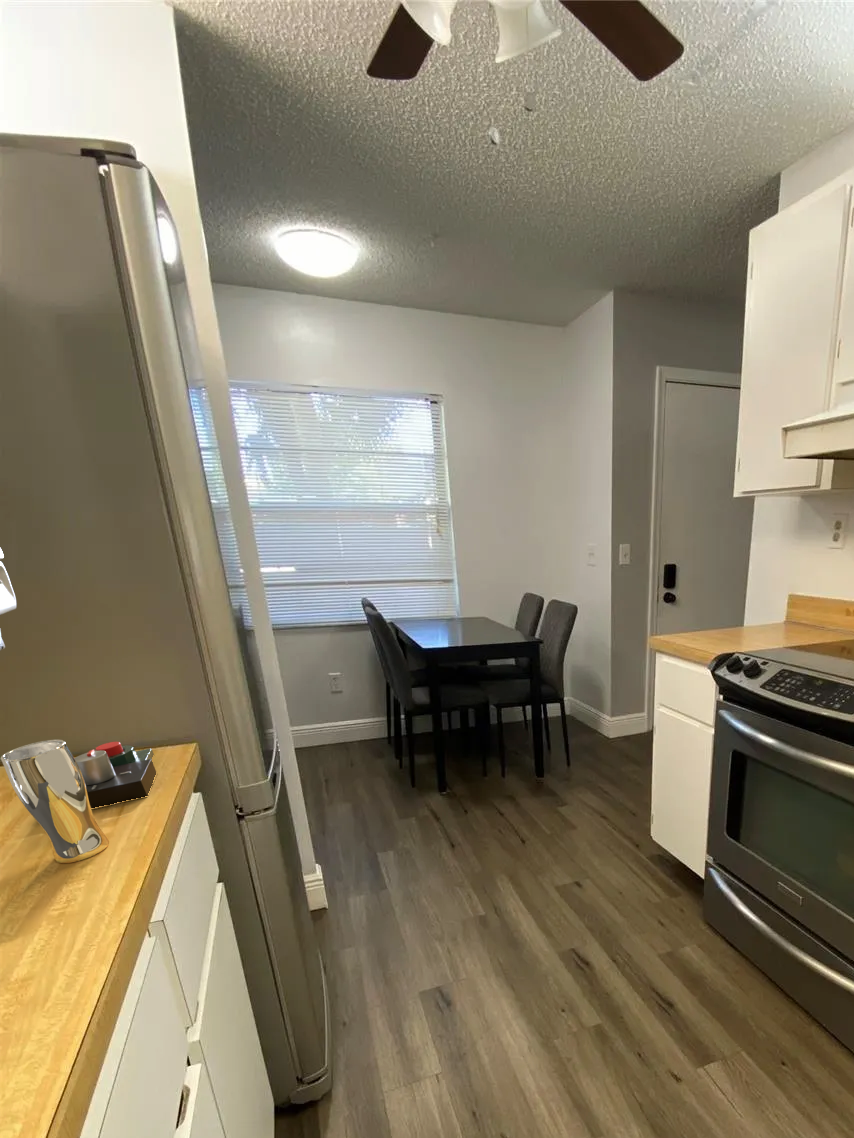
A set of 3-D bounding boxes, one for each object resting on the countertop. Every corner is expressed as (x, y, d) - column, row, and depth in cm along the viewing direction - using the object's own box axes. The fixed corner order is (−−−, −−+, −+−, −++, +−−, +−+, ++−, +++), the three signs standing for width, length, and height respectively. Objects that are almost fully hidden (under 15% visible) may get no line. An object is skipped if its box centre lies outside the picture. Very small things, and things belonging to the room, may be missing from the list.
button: (97, 760, 107) (92, 751, 106) (102, 753, 110) (97, 744, 109) (121, 755, 108) (117, 746, 108) (125, 749, 111) (121, 739, 111)
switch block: (80, 789, 106) (70, 768, 104) (92, 772, 112) (82, 752, 111) (148, 774, 109) (139, 753, 107) (155, 759, 116) (147, 738, 114)
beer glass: (113, 851, 85) (65, 748, 78) (49, 871, 81) (-6, 766, 75) (113, 832, 90) (68, 734, 84) (53, 850, 87) (2, 749, 80)
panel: (50, 819, 96) (41, 801, 95) (68, 794, 104) (60, 777, 103) (147, 797, 100) (140, 779, 99) (157, 774, 109) (150, 757, 107)
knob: (112, 780, 100) (101, 755, 98) (79, 787, 98) (68, 762, 97) (118, 770, 104) (107, 746, 102) (86, 777, 102) (75, 752, 100)
